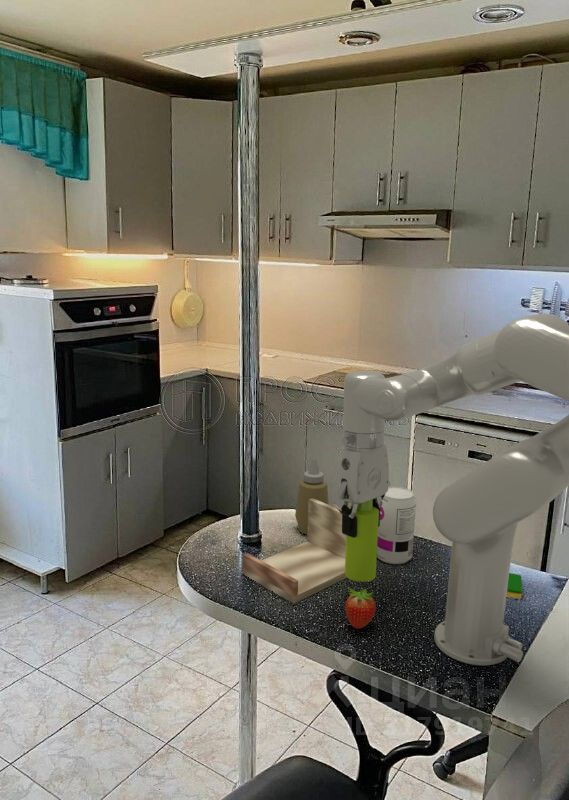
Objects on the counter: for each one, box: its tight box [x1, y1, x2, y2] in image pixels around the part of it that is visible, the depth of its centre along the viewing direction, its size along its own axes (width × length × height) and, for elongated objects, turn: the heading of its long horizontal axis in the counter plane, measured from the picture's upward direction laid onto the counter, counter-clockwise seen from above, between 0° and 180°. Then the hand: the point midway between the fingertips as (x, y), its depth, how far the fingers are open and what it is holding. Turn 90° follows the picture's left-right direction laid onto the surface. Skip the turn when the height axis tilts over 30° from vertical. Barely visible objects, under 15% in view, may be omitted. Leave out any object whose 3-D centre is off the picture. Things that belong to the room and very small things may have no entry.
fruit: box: [344, 587, 377, 630], centre depth 117 cm, size 5×5×8 cm
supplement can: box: [377, 486, 417, 565], centre depth 143 cm, size 8×8×15 cm
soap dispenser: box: [345, 499, 379, 583], centre depth 125 cm, size 6×7×20 cm
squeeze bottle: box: [294, 457, 330, 536], centre depth 155 cm, size 8×8×18 cm
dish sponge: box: [506, 572, 523, 599], centre depth 133 cm, size 7×14×2 cm, turn 72°
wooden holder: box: [242, 498, 348, 605], centre depth 136 cm, size 15×20×12 cm
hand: (360, 529), depth 125 cm, fingers closed on soap dispenser, 6 cm apart
